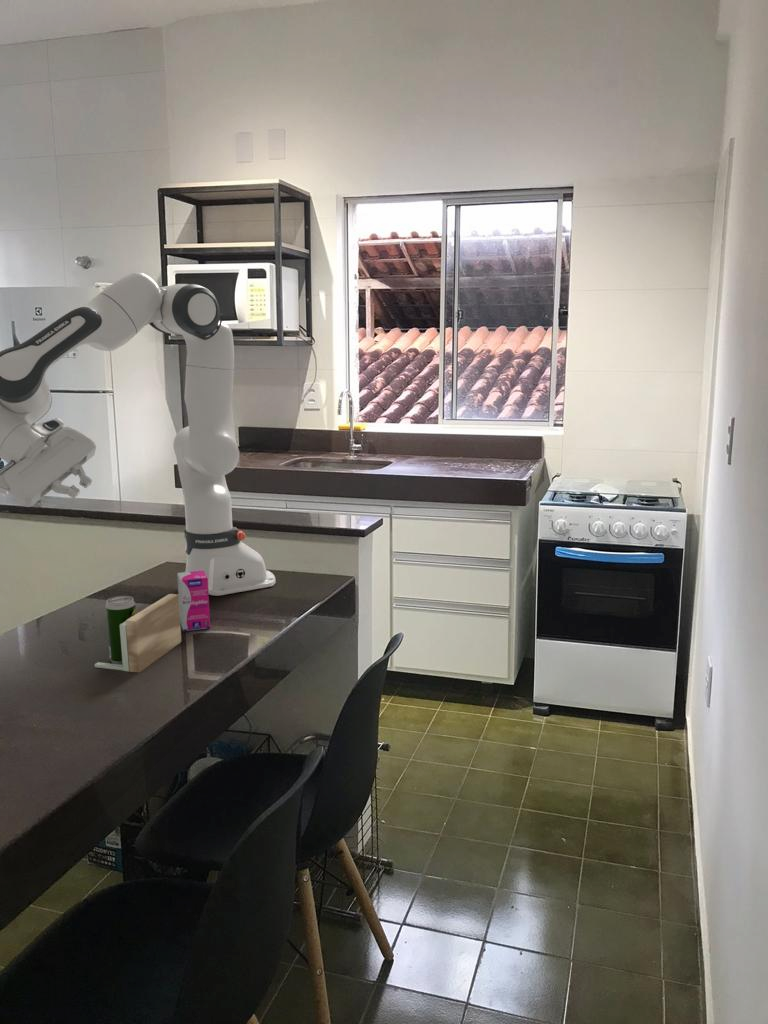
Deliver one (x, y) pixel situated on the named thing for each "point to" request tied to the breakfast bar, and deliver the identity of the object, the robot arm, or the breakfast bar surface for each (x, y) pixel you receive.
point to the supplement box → (193, 600)
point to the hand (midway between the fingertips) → (83, 489)
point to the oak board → (153, 632)
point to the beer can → (117, 623)
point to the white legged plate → (124, 653)
